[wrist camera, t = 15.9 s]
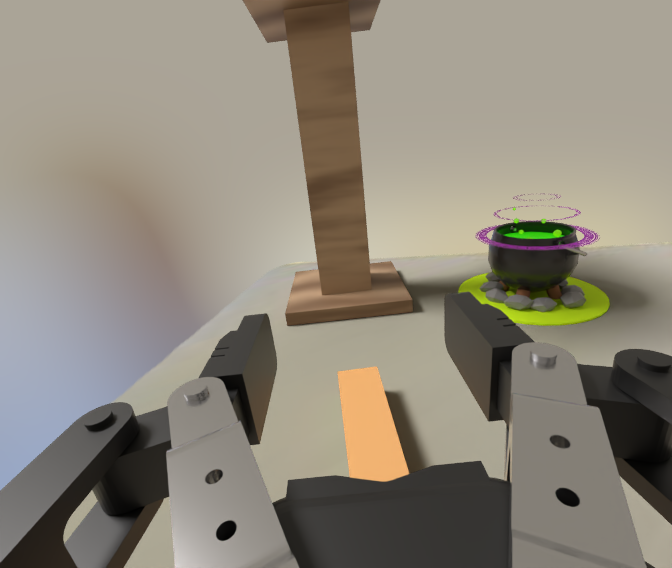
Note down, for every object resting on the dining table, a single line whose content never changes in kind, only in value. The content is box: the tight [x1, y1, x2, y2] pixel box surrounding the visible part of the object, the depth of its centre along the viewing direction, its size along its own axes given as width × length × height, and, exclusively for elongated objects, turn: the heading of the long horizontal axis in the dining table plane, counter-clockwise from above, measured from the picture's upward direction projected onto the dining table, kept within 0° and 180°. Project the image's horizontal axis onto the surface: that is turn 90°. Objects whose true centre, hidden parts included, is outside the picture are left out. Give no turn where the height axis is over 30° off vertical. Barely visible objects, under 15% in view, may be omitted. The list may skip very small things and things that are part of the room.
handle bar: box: [338, 367, 409, 482], centre depth 17 cm, size 22×3×2 cm, turn 4°
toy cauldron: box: [458, 207, 610, 326], centre depth 39 cm, size 15×15×11 cm
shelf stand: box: [243, 0, 413, 326], centre depth 40 cm, size 16×14×32 cm
